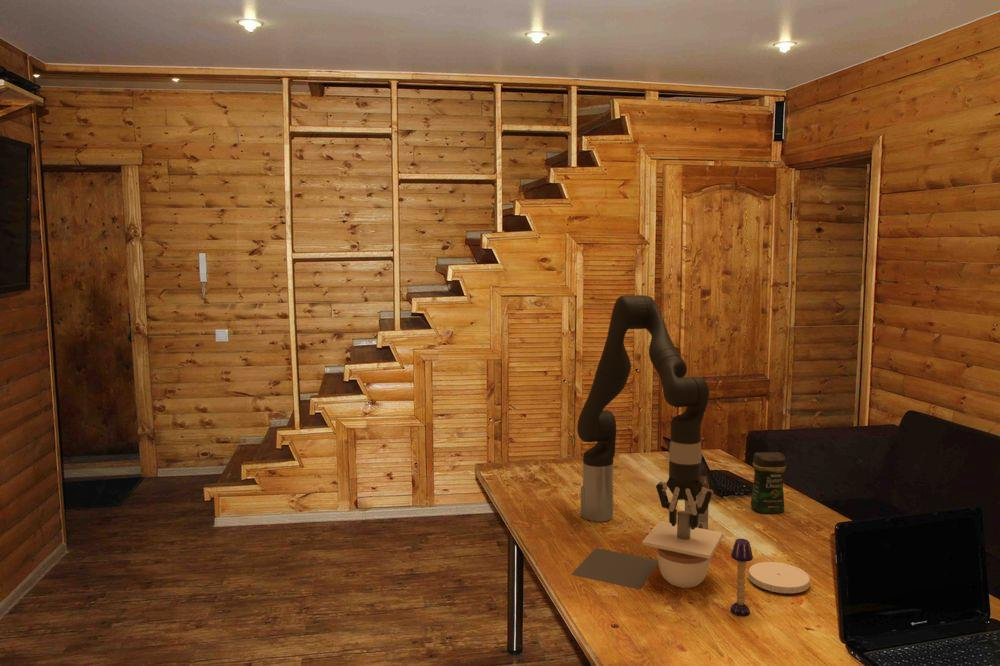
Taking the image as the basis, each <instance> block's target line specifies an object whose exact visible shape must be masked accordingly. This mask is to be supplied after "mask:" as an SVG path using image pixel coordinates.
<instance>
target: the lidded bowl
mask: <svg viewBox="0 0 1000 666" xmlns="http://www.w3.org/2000/svg"><path fill="white" fill-rule="evenodd" d="M656 552H657V560H658V565H657V566H658V570H659V571H660V574H661V575H662V578H663V579H664V580H665V581H666V582H667V583H668V584H669V585H671V586H674V587H676V588H682V589H690V588H691V589H692V588H695V587H697V586H698V585H700V584H701V583H702V582H703V581H704V580H705V579H706V576H707V575H708V571H709V567H710V559H707V558H703V557H698V556H693V555H688V554H683V553H679V552H674V551H669V550H664V549H659V548H656Z"/></svg>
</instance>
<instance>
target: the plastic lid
mask: <svg viewBox="0 0 1000 666" xmlns="http://www.w3.org/2000/svg"><path fill="white" fill-rule="evenodd" d="M748 579H749V581H750V582H751V583H752V584H753V585H755V586H757V587H759V588H761V589H764V590H766V591H769V592H774V593H778V594H791V595H792V594H798V593H802V592H805V591H807V590H808V589H809V588H810V585H811V583H810V582H811V578H810V575H809V574H808V573H807V572H805V570H803V569H801V568H799V567H797V566H796V565H795V566H794V565H791V564H788V563H783V562H777V561H776V562H775V561H774V562H773V561H764V562H757V563H754V564H752V565H751V566H750V567H749V569H748Z"/></svg>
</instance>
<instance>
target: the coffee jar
mask: <svg viewBox="0 0 1000 666" xmlns="http://www.w3.org/2000/svg"><path fill="white" fill-rule="evenodd" d="M752 467H753V470H754V475H753V477H754V479H753V486H752V492H751V499H750V507H751V508H752V510H753V511H754V512H758V513H761V514H780V513H783V512H784V511H785V497H784V496H785V495H784V494H785V493H784V473H785V471H786V469H787V463H786V456H785V455H784V454H783V453H781V452H779V451H775V452H773V451H771V452H754V455H753V460H752Z"/></svg>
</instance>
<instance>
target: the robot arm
mask: <svg viewBox="0 0 1000 666" xmlns="http://www.w3.org/2000/svg"><path fill="white" fill-rule="evenodd" d="M608 325H609V327H608V331H607V335H606V339H605V343H604V347H603V350H602V353H601V356H600V358H599V362H598V364H597V368H596V371H595V374H594V379H593V382H592V385H591V387H590V390H589V393H588V396H587V398H586V401H585V403H584V405H583V408H582V410H581V412H580V413H579V417H578V419H577V420H578V421H577V426H576V427H577V435H578V438H579V439H580V441H583V442H585V443H595V442H596V443H595V444H594V445H593V446H592V447H591V448H589V449H587V450H585V452H584V453H583V455H582V485H581V487H580V518H583V519H585V520H588V521H591V522H598V523H600V522H607V521H611V520H612V519H613V518H614V516H613V515H614V458H615V454H616V440H617V421H616V420H617V419H616V417H615V415H614V414H613V412H612V411H610V410H608V409H607V410H606V409H605V408H606V407H607V406H608V405H609V404H610V403H611V402H612V401H613V400H614V399H615V398H617V396H619V395H620V393H621V392H623V390H624V388H625V386H627V385H626V384H627V382H628V378H629V376H630V374H631V371H632V370H631V369H632V363H631V359H630V357H629V356H630V355H629V354H628V351H627V349H626V347H625V336H626V334H627V331H629V330H643V329H645V330H646V331H647V332H649V334H650V335H651V339H650V343H649V347H648V355H649V360H650V361H651V363H652V365H653V367H654V369H655V370H656V372H657V375H659V378H660V382H661V386H662V393H663V398H664V400H665V401H666V403H667V404H668V405H670V406H672V407H674V408H685V407H686V409H685V410H684V412H683V413H681V414H678V415H675V416H673V417H672V418H671V420H670V442H669V449H668V450H669V454H668V455H669V456H668V479H667V481H664V482H663V481H659V482H658V483H657V484H656V485H655V487H656V492H657V494H658V498H659V501H660V505H661V507H662V509H667V510H668V512H669V514H668V519H669V520H668V522H670V523H671V524H672V526H675V525H676V524H677V522H678V509H677V506H678V503H679V501H680V500H681V501H682V500H684V501H685V500H686V501H689V505H690V507H691V510H692V515H691V529H693V530H694V529H695V528H696V527H697V526H698V518H699V514H704V513H705V511H706V510H707V508H708V505H710V502H711V500H712V497H713V495H714V493H715V492H714V489H713V488H709V489H707V488H705V487H703V485H702V483H701V476H702V459H703V457H702V456H703V455H702V444H701V440H702V439H701V437H702V436H701V434H702V432H701V431H702V423H703V419H704V415H705V413H706V409H707V406H708V402H709V399H710V388H709V385H708V382H707V381H706V379H704V378H703V377H701V376H686V374H687V371H688V367H687V364H686V362H685V360H684V358H683V356H681V354H680V352H679V351H678V350H677V348H676V346H675V344H674V343H673V341H672V339H671V337H670V333H669V332H668V329H667V326H666V323H665V321H664V318H663V316H662V313H661V311H660V308H659V307H658V305H657V302H656V301H655V300H654V298H652V296H649V295H644V294H643V295H642V294H641V295H639V294H638V295H637V294H630V295H629V294H625V295H620V296H619V297H618V298H616V301H615V302H614V305H613V307H612V312H611V316H610V321H609V324H608ZM667 490H669V491H670V492H671V494H672V497H671V500H670V501H669V498H668V495H667V494H668V493H667V492H666V491H667ZM700 491H701V492H702V493H703V497H704V501H703V504H702V506H701V507H698V500H697V495H698V494H699V493H700ZM708 509H709V508H708Z"/></svg>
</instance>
